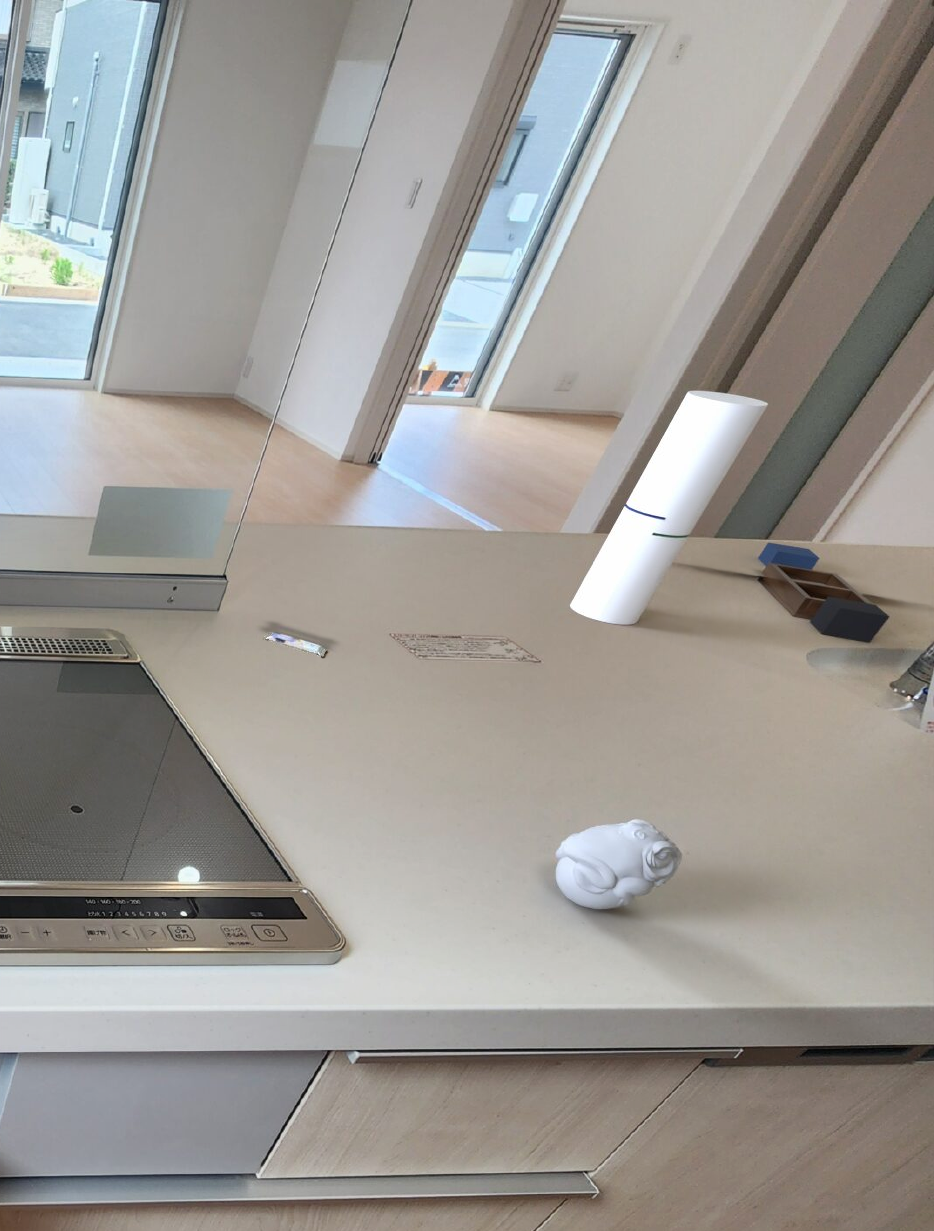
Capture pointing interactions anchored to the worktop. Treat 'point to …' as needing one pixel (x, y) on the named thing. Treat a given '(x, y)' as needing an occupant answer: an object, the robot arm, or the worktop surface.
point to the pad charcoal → (849, 619)
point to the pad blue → (788, 556)
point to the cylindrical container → (666, 504)
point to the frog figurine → (615, 863)
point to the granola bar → (296, 643)
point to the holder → (805, 588)
